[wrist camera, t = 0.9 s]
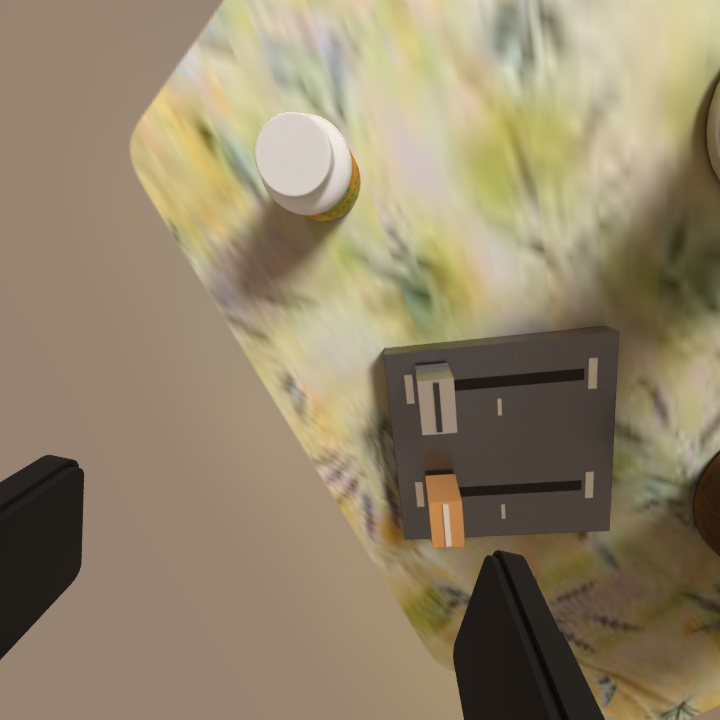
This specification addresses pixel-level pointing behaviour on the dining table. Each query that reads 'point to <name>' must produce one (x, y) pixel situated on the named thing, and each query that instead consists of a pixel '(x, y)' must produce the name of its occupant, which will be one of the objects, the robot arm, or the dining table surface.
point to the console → (512, 431)
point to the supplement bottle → (307, 166)
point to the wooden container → (709, 505)
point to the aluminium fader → (436, 399)
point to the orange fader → (445, 511)
